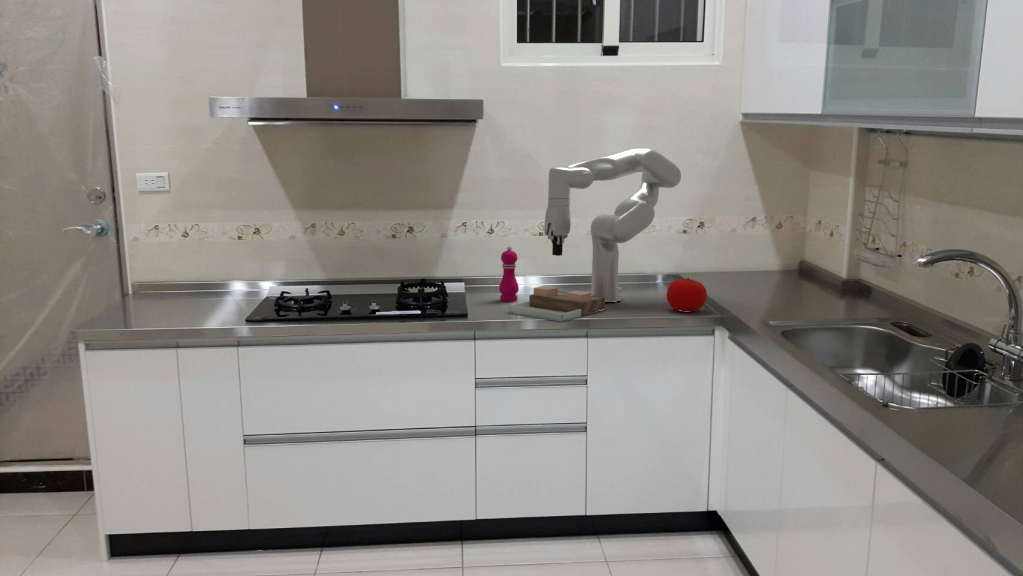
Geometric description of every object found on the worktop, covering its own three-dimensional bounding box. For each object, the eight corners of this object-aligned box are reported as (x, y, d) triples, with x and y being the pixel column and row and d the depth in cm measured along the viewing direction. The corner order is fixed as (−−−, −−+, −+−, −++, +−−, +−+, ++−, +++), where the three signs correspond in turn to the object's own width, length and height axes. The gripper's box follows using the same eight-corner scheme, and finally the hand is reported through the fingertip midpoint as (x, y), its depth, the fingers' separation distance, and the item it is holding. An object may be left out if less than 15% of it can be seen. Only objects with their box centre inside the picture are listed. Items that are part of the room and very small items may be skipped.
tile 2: (576, 297, 275) (576, 290, 275) (591, 299, 271) (591, 292, 271) (566, 300, 270) (566, 292, 270) (581, 302, 267) (581, 295, 266)
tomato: (662, 307, 284) (664, 274, 282) (700, 307, 284) (702, 275, 282) (670, 314, 271) (671, 280, 269) (710, 315, 271) (712, 281, 269)
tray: (528, 308, 279) (528, 301, 279) (581, 316, 266) (581, 309, 265) (508, 312, 271) (508, 305, 270) (562, 321, 257) (562, 314, 257)
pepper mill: (495, 301, 291) (495, 246, 288) (504, 298, 297) (505, 244, 294) (512, 303, 288) (513, 247, 284) (521, 299, 294) (522, 245, 291)
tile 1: (543, 292, 284) (543, 285, 283) (557, 294, 280) (557, 287, 279) (533, 295, 279) (533, 288, 278) (547, 297, 275) (547, 290, 275)
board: (552, 302, 290) (552, 290, 290) (604, 310, 277) (604, 297, 276) (529, 307, 279) (529, 295, 279) (581, 316, 266) (582, 303, 265)
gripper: (562, 201, 287) (560, 252, 290) (537, 203, 276) (536, 256, 279) (579, 203, 283) (577, 254, 286) (555, 204, 271) (553, 258, 274)
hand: (557, 255), depth 282 cm, fingers closed
